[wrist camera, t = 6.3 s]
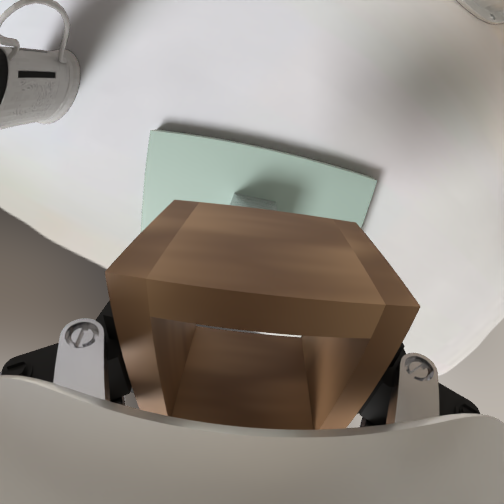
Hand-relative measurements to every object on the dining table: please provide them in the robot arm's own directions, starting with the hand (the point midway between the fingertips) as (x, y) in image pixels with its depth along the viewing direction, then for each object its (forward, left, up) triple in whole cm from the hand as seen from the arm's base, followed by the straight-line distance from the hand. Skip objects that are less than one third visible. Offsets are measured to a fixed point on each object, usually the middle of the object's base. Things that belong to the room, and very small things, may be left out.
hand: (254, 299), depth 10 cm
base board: (0, +2, -16) cm, 17 cm away
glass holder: (+22, -10, -17) cm, 30 cm away
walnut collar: (0, 0, -1) cm, 1 cm away
